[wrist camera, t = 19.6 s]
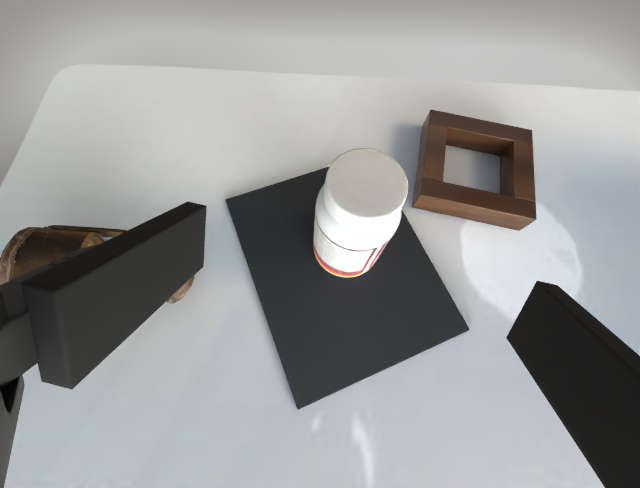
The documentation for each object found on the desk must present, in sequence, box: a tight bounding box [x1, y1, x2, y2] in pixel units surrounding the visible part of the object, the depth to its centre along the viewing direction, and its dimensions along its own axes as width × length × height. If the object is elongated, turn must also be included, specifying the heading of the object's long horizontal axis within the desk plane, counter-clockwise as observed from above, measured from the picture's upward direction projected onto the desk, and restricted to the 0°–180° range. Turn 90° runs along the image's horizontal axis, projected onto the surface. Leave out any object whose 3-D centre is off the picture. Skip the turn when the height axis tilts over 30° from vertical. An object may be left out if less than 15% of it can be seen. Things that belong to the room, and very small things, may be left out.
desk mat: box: [226, 167, 469, 409], centre depth 29 cm, size 20×16×1 cm
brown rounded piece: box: [0, 225, 194, 303], centre depth 24 cm, size 7×13×10 cm
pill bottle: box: [313, 148, 408, 277], centre depth 24 cm, size 6×6×11 cm
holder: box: [413, 110, 536, 230], centre depth 33 cm, size 11×11×2 cm
